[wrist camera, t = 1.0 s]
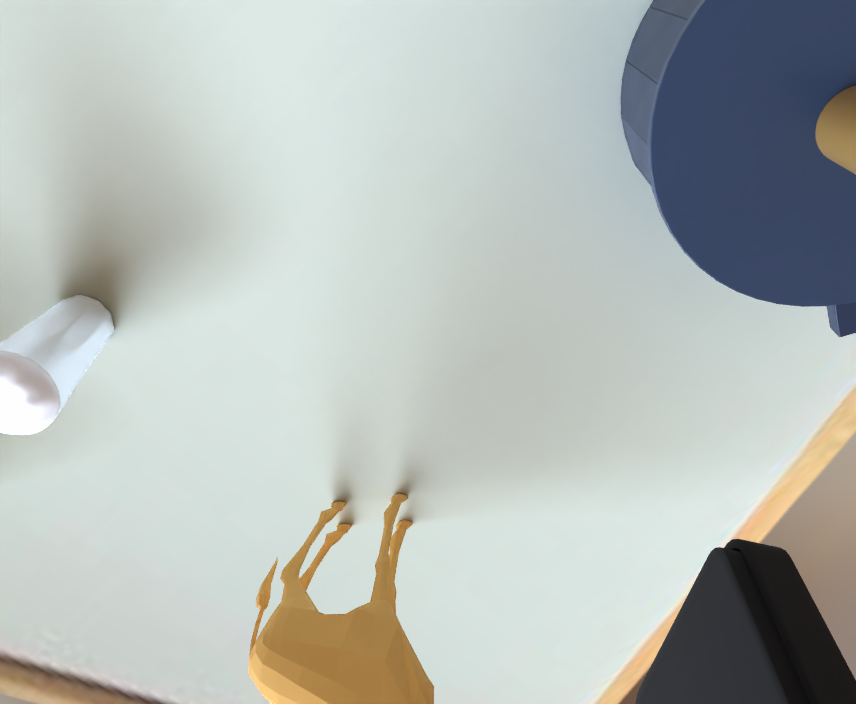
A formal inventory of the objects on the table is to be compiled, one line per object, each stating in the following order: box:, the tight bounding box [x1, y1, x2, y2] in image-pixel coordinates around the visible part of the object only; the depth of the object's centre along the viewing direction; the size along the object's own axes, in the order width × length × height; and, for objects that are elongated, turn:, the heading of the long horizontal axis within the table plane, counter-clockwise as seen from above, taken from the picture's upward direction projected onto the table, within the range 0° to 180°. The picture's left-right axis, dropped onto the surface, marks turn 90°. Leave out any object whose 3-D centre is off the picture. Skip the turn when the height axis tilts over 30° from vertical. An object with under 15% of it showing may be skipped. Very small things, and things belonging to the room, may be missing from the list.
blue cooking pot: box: [621, 0, 856, 337], centre depth 31 cm, size 14×19×8 cm
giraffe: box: [249, 493, 434, 704], centre depth 37 cm, size 16×4×25 cm, turn 97°
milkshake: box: [0, 295, 114, 435], centre depth 38 cm, size 5×5×10 cm
